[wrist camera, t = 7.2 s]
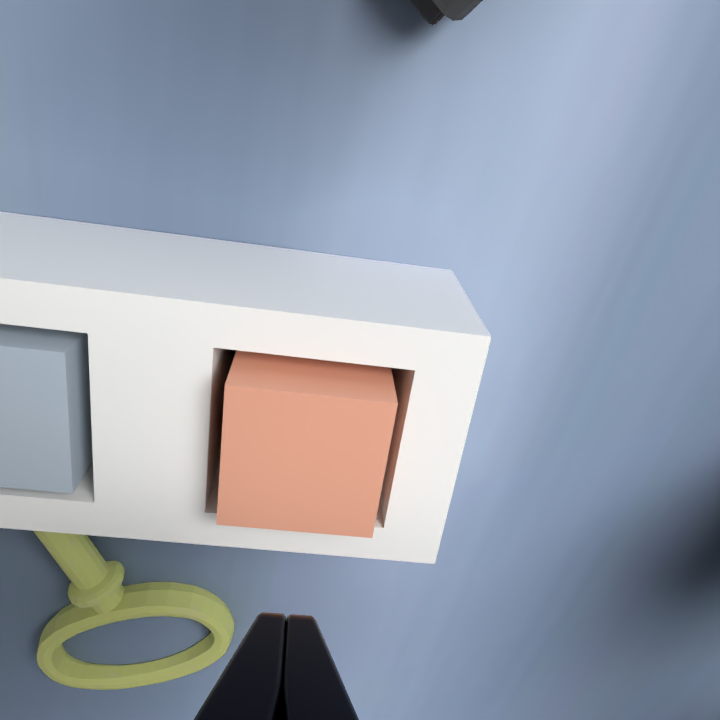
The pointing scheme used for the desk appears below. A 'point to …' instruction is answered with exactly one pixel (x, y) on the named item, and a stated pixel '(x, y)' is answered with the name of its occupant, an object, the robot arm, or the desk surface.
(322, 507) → the orange button
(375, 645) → the desk surface
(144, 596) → the key
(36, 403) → the grey button
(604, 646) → the desk surface
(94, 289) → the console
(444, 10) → the hand grip strengthener
